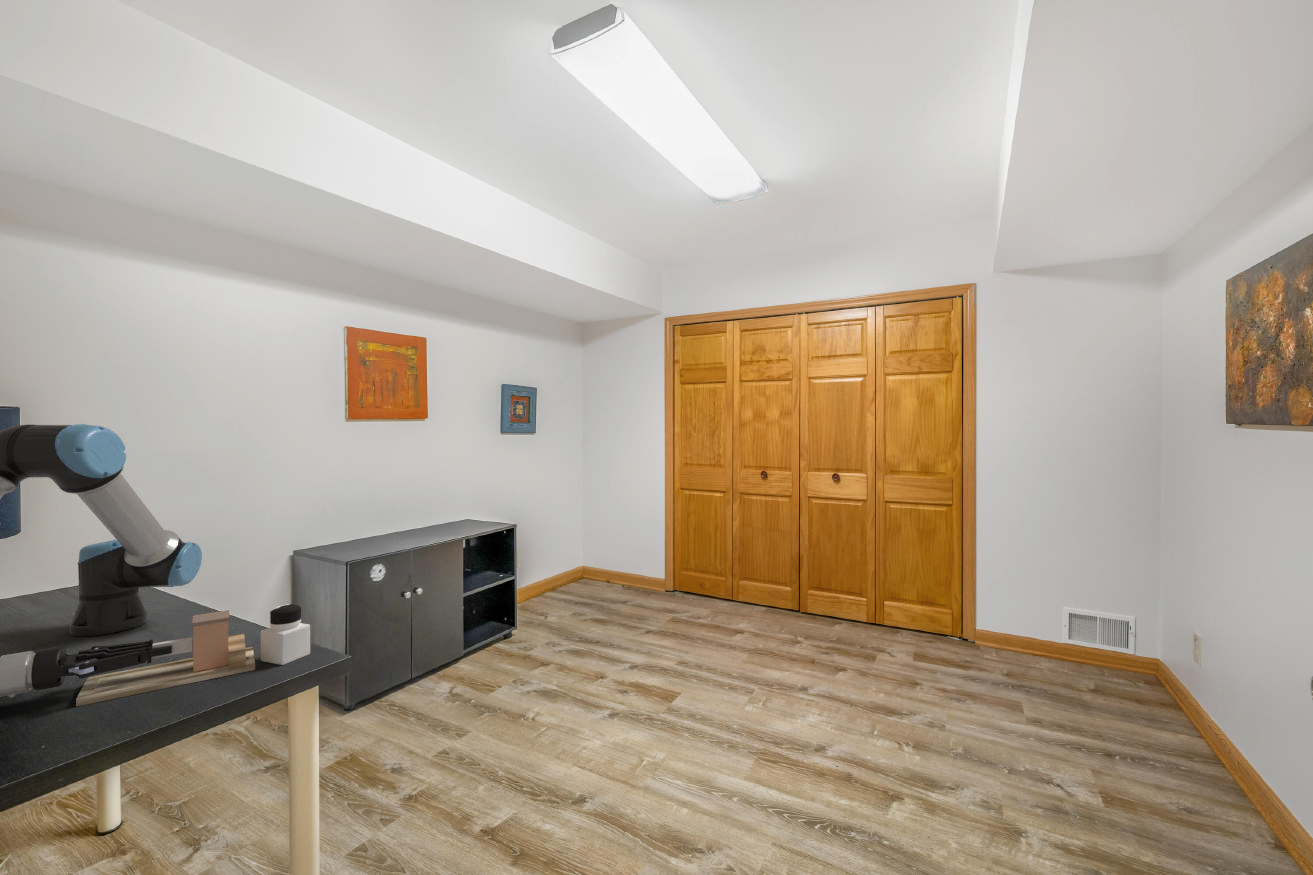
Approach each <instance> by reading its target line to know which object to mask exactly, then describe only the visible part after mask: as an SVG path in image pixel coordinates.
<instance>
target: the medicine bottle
mask: <svg viewBox="0 0 1313 875" xmlns="http://www.w3.org/2000/svg"><path fill="white" fill-rule="evenodd" d="M269 622H270V624H269V626H270V627H269V628H265V629H261V631H260V661H261V662H264V663H270V664H275V665H280V666H284V665H287V664H290V663H291V662H294V661H296V660H298V659H301V658H303V657H306V656H309V655H310V654H311V624H309V623H308V624H307V623H302V607H301V605H298V604H295V603H290V604H289V603H287V604H283V605H278V606H276V607H274V608H272V609H271V610H270V612H269Z"/></svg>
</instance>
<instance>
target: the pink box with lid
mask: <svg viewBox="0 0 1313 875" xmlns="http://www.w3.org/2000/svg"><path fill="white" fill-rule="evenodd" d="M191 621H192V622H191V627H192V628H193V629H192V635H193V636H192V637H193V651H192V652H193V654H192V655H193V657H192V658H193V672H197V671H202V670H207V669H212V668H217V667H222V666H227V665H229V654H228V636H229V622H230V610H229V609H227V610H220V611H214V612H207V613H201V614H196V615H195V614H194V615H193V616H192V620H191Z"/></svg>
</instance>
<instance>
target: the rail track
mask: <svg viewBox="0 0 1313 875" xmlns="http://www.w3.org/2000/svg"><path fill="white" fill-rule="evenodd" d="M245 638H246V637H245V633H241V634H233V635H228V654H229V665H227V666H222V667H217V668H212V669H207V670H202V671H197V672H193V657H190V658H183V659H180V660H174V661H168V662H163V663H157V664H151V665H147V666H141V667H135V668H130V669H125V670H121V671H119V670H118V671H115V672H109V673H104V674H103V673H102V674H96V675H92V676H89V677H87V679H86V680H85V683H84V684H83V686H82V687H81V689H80V691H79V693H78V695H77V697H76V698H75V700H76V701H75V703H76V704H75V707H81V706H86V705H91V704H96V703H100V702H106V701H110V700H115V699H120V698H126V697H129V696H135V695H139V694H144V693H149V692H154V691H159V690H165V689H168V688H173V687H174V688H175V687H178V686H184V685H188V684H192V683H193V684H194V683H198V682H203V681H207V680H211V679H217V678H222V677H226V676H231V675H236V674H241V673H246V672H247V673H248V672H251V671H255V670H256V662H255V654H254V646H249V647H246V639H245Z"/></svg>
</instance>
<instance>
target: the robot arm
mask: <svg viewBox="0 0 1313 875" xmlns="http://www.w3.org/2000/svg"><path fill="white" fill-rule="evenodd" d="M124 451H126V445H125V443H124V442H123V440H122V438H121V437H120V436H119V435H118V434H117V433H116V432H115V431H113V430H111V429H110V428H107V427H104V426H100V425H92V424H87V423H86V424H85V423H78V424H20V425H19V424H18V425H14V426H11V427H7V428H5V429H2V430H0V500H2V498H3V496H4V495H5V494H6V495H7V494H10V493H12V492H14V491H15V490H16V488H17V486H18V485H19V484H20V483H21V482H22V481H24V480H25V479H29V478H49V479H50V480H52V481H53V482H54V484H56V486H57V487H58V488H59V489H60V490H61V491H62V492H64V493H68V494H71V495H73V494H75V495H77V496H78V497H79V499H80V500H81V501H82V502H83V503H84V504H85V505H86V506H87V507H88V509H89V510H90V511H91V512H92V513H93V515H95V517H96V518H97V519H98V520H99V522H101V524H102V525H103V526H104V527H105V528H106V529H107V530H108V532H110V534H111V535H112V536H113V537H114V538H115V539H113V540H107V541H102V542H97V543H92V544H89V545H85V546H84V547H81V549H80V550H79V554H78V562H77V567H78V571H77V573H78V574H77V575H78V604H77V607H76V609H75V611H74V614H73V616H72V618H71V621H70V623H69V635H71V636H73V637H90V636H91V637H94V636H99V635H102V636H103V635H107V634H113V633H119V632H123V631H127V630H131V629H135V628H137V627H139V626H142V625H145V623H147V622H148V621H149V620H148V619H149V618H148V617H149V616H148V611H147V608H146V606H145V604H144V602H143V600H142V597H141V595H140V588H173V587H182V586H185V585H187V584H189V583H191V582H192V581H193V580H194V579H195V578H196V576H197V575H198V572H199V571H200V568H201V566H202V560H203V554H202V553H203V552H202V549H201V546H200V545H199V544H198V543H195V542H192V541H188V542H184V541H183V540H181V537H179V536H178V534H177V533H175V532H174V531H173V530H170V529H169V530H168V529H164V527H162V525H161V523H160V522H159V521H158V520H157V519H156V517H155V516H154V515H153V513H152V512H151V511H150V509H149V508H148V507H147V506H146V504H145V503H144V502H143V500H142V499H141V498H140V497H139V495H138V494H137V493H136V491H135V489H134V488H132V486H131V485H130V484H129V482H128V481H127V480H126V478H125V477H124V476H123V475H122V472H123V471H124V469H125V468H124V466H125V463H126V460H127V453H125V452H124ZM192 652H193V636H192V637H191V636H190V637H186V638H184V637H183V638H177V639H171V640H165V641H159V642H154V639H149V640H148V641H147V640H146V641H140V642H137V641H136V642H130V643H120V644H112V645H93V646H91V647H90V649H89V648H88V649H84V650H83V649H82V650H79V651H78V652H77V653H72V654H68V653H67V649H66V648H65V646H55V647H50V648H43V649H39V650H37V651H36V653H35V652H34V650H27V651H21V652H17V653H10V654H3V655H0V698H1V697H5V696H8V698H11V699H12V698H15V697H16V696H17V694H25V693H29V692H30V691H32V690H35V691H42V690H48V689H54V688H58V687H61V686H62V685H63V684H64V683H65V679H66V678H67V677H71V676H75V677H78V679H85V678H88V677H92V676H96V675H100V674H103V673H104V674H105V673H107V672H112V671H117V670H120V669H125V668H130V667H133V666H138V665H143V664H147V665H148V664H151V663H152V661H153V660H152V659H156V658H162V657H169V656H174V655H175V656H176V655H180V654H185V653H192Z"/></svg>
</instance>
